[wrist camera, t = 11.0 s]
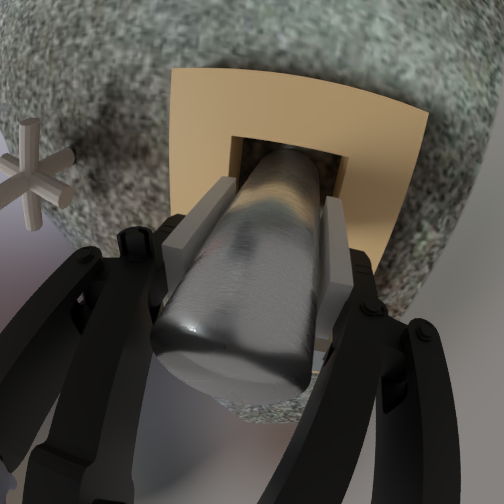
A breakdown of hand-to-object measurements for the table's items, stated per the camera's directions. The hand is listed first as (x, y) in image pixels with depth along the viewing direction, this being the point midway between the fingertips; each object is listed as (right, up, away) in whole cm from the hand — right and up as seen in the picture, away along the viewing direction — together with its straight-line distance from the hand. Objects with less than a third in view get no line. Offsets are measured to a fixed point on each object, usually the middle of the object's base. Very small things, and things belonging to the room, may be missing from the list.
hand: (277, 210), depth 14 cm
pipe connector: (-18, +7, +6) cm, 21 cm away
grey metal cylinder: (+1, +3, +4) cm, 5 cm away
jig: (0, -1, +7) cm, 7 cm away
